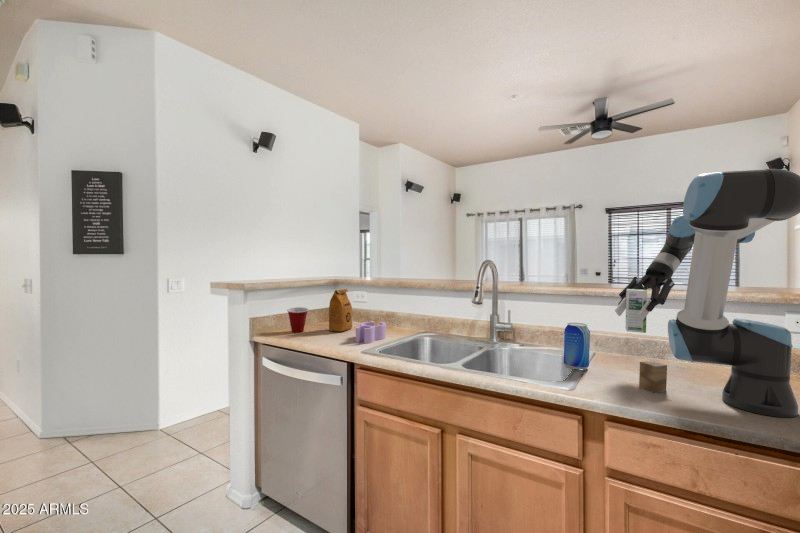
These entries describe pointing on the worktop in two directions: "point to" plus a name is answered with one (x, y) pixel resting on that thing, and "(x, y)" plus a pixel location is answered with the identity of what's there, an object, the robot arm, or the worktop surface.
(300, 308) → the plastic cup
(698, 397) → the worktop surface
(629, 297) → the syrup box
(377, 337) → the clip
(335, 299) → the coffee package
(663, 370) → the walnut block
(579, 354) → the blue canister
